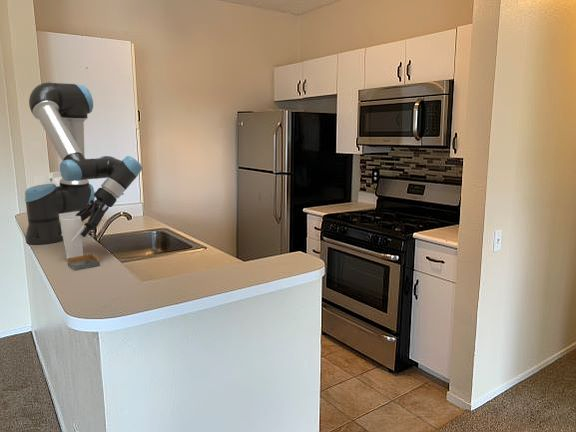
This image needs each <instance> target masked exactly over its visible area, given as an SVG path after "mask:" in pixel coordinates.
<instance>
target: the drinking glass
mask: <svg viewBox="0 0 576 432" xmlns="http://www.w3.org/2000/svg"><path fill="white" fill-rule="evenodd" d="M60 222H61V231H62V236H63V240H62V241H63V244H64V249H65V254H66V260H67V261H68V259H67V258H72V257H78V256H83V255H84V251H83V247H84V245H83V242H84V240H83V241H82V242H81V243H80V244H79V246H78V245H77V244H75V243H74V242H72V239H73V238H74V237H75V236H76V235H77V233H78V232H79V231H80V230H81V229H82V227H83V222H82V220H81V217H80V216H69V217H63V218H61V219H60Z"/></svg>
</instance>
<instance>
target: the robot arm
mask: <svg viewBox="0 0 576 432" xmlns="http://www.w3.org/2000/svg"><path fill="white" fill-rule="evenodd" d="M28 103H29V104H28V105H29V109H30V112H31V114H32V116H33V117H34V118H35V119H36V120H39V122H40V124H41V126H42V127H43V130H44V131H45V133H46V135H47V138H49V141H50V142H51V144H52V145H53V147H54V149H55V150H56V151H55V152H56V153H57V154H58V156H59V158H60V159H61V160H60V161H61V162H60V164H59V173H60V176H61V177H62V179H61V180H60V186H58V187H56V185H55V184H45V183H44V184H38V185H35V186H31V187H29V188H27V189H26V190H25V191H24V196H25V197H24V201H25V206H26V213H27V215H26V217H27V222H28V225H27V228H26V229H27V230H26V233H25V234H26V235H25V244H28V245H48V244H53V243H58V242H62V241H63V236H62V231H61V223H60V219H59V214H61V213H68V212H75V211H76V215H75V216H80V217H81V220H82V223H83V222H84V221H86V220H87V219H88V220H87V222H85V223H84V224H83V225H82V229H81V230H80V231H79V232H78V233H77V235H76V236H75V237H74V238H73V239H72V242H74V243H75V244H77V245H78V246H79V244H80V243H81V242H82V241H83V242H84V240H85V239H86V237H87V236H89V234H90V232H91V231H94V230H96V229H97V228H98V226H99V224H100V222H101V221H102V219H103V217H104V215H105V214H106V213H107V211H108V210H109V208H112V207H113V206H114V205H115V204H116V202H117V199H119V198H120V197H122V196H123V195H125V193H124V192H125V191H126V190H127V189H128V188H129V186H130V185H132V183H133V182H134V180H136V179H137V178H138V176H139V174H140V173H141V172H142V170H143V166H142V164H141V163H140V162H139V161H138V160H136V159H135V158H134V157H132V156H131V155H127V156H125V157H124V158H123V159H122V160H120V159H117V158H116V157H113V156H111V155H110V156H109V155H103V156H101V157H97V158H86V157H85V124H84V123H85V121H86V120H87V119H88V115H89V114H91V113H92V112H93V109H94V100H93V97H92V93H91V92H90V90H89V89H88V87H86V86H85V85H83V84H77V83H63V82H61V83H60V82H59V83H58V82H50V81H49V82H42V83H40V84H37V86H35V87H34V88H33V90H32V91H31V93H30V95H29V99H28ZM98 179H105V180H104V181H103V183H102V184H100V186H101V187H98V189H96V191H95V188H94V186H93V185H92V184H90V181H89V180H98Z"/></svg>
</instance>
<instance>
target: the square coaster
mask: <svg viewBox="0 0 576 432" xmlns="http://www.w3.org/2000/svg"><path fill="white" fill-rule="evenodd" d="M67 259H68V260H67ZM66 260H67V265H68V267H69V268H71V269H72V270H73V271H79V270H84V269H89V268H95V267H100V266H101V263H100V257H98V256H96V255H95V254H92V253H90V254H85V255H84V254H83V256H78V257H72V258H67V257H66Z"/></svg>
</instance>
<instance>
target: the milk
mask: <svg viewBox="0 0 576 432" xmlns="http://www.w3.org/2000/svg"><path fill="white" fill-rule="evenodd" d="M61 179H62V176H61V172H60V171H52V172H49V179H47V181H45V183H44V184H55V185H56V187H58V186H60V180H61ZM76 214H77V211H75V212H68V213H61V214H59V219H61V218H63V217H69V216H75V215H76ZM60 223H61V222H60Z"/></svg>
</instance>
